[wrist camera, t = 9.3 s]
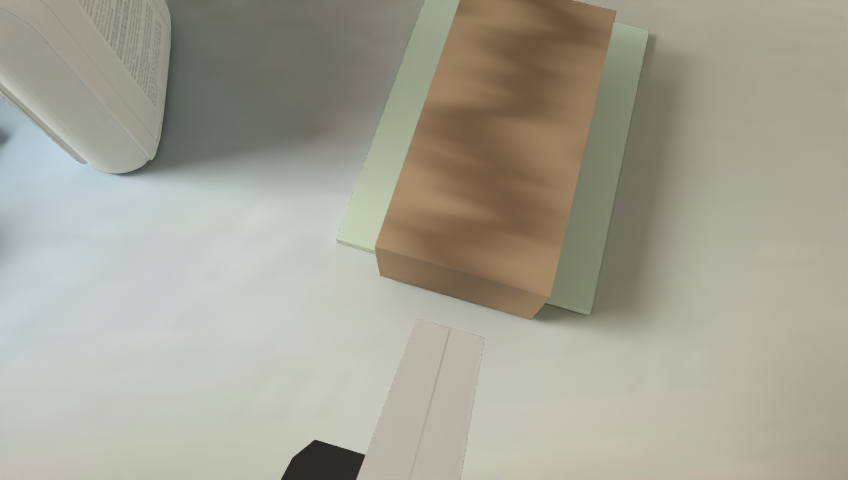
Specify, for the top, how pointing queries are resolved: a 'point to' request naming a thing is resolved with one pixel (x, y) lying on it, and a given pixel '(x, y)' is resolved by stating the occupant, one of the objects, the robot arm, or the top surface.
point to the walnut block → (497, 153)
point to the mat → (594, 176)
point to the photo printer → (89, 75)
